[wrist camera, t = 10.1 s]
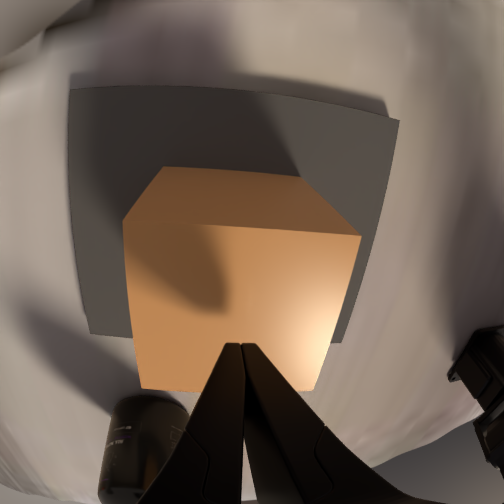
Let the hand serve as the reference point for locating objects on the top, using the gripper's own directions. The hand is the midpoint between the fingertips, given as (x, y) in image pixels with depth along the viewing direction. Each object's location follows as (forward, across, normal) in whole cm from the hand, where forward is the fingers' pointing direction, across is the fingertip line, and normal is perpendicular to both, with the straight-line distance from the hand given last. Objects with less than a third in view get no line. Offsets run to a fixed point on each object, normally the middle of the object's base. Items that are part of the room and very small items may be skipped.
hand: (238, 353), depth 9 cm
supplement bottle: (+9, +5, +17) cm, 20 cm away
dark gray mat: (+9, 0, 0) cm, 9 cm away
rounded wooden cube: (+8, 0, 0) cm, 8 cm away
